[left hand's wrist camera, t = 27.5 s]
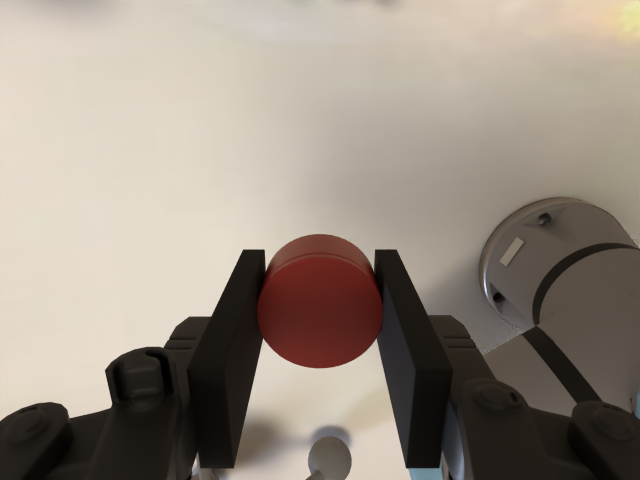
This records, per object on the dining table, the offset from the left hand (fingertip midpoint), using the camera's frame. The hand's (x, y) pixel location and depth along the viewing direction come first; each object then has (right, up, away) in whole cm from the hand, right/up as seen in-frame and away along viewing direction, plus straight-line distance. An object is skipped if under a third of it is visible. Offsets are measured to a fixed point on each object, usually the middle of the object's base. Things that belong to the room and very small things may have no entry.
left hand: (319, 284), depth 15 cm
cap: (0, -1, -2) cm, 2 cm away
